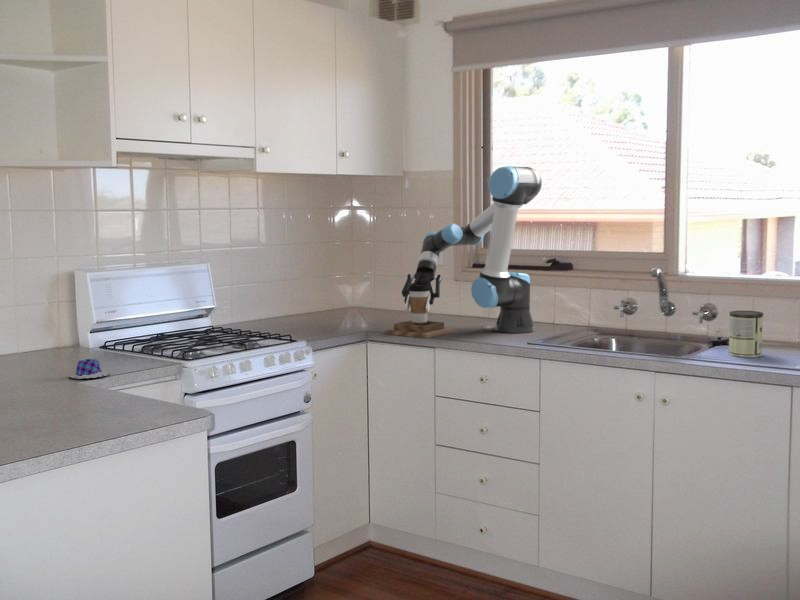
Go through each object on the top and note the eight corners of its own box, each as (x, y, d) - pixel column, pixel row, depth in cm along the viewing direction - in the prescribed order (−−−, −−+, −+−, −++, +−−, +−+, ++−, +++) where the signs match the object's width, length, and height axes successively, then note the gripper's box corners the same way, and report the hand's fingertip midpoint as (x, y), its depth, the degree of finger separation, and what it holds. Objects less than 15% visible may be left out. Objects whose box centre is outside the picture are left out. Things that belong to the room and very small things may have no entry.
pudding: (117, 377, 267) (116, 360, 266) (79, 383, 258) (78, 365, 258) (98, 372, 275) (97, 355, 274) (60, 377, 266) (59, 360, 266)
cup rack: (453, 332, 347) (453, 322, 347) (426, 338, 333) (426, 327, 332) (412, 328, 359) (412, 318, 359) (385, 333, 345) (384, 323, 344)
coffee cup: (430, 320, 349) (430, 282, 347) (429, 323, 341) (429, 284, 339) (409, 320, 350) (409, 282, 348) (407, 323, 342) (407, 284, 340)
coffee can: (726, 351, 297) (727, 310, 296) (758, 352, 295) (760, 310, 293) (730, 357, 287) (731, 314, 286) (764, 358, 285) (765, 314, 283)
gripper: (453, 271, 355) (444, 316, 341) (404, 271, 361) (393, 315, 347) (450, 259, 349) (440, 304, 336) (401, 258, 355) (389, 303, 342)
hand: (416, 309), depth 342 cm, fingers closed on coffee cup, 8 cm apart
